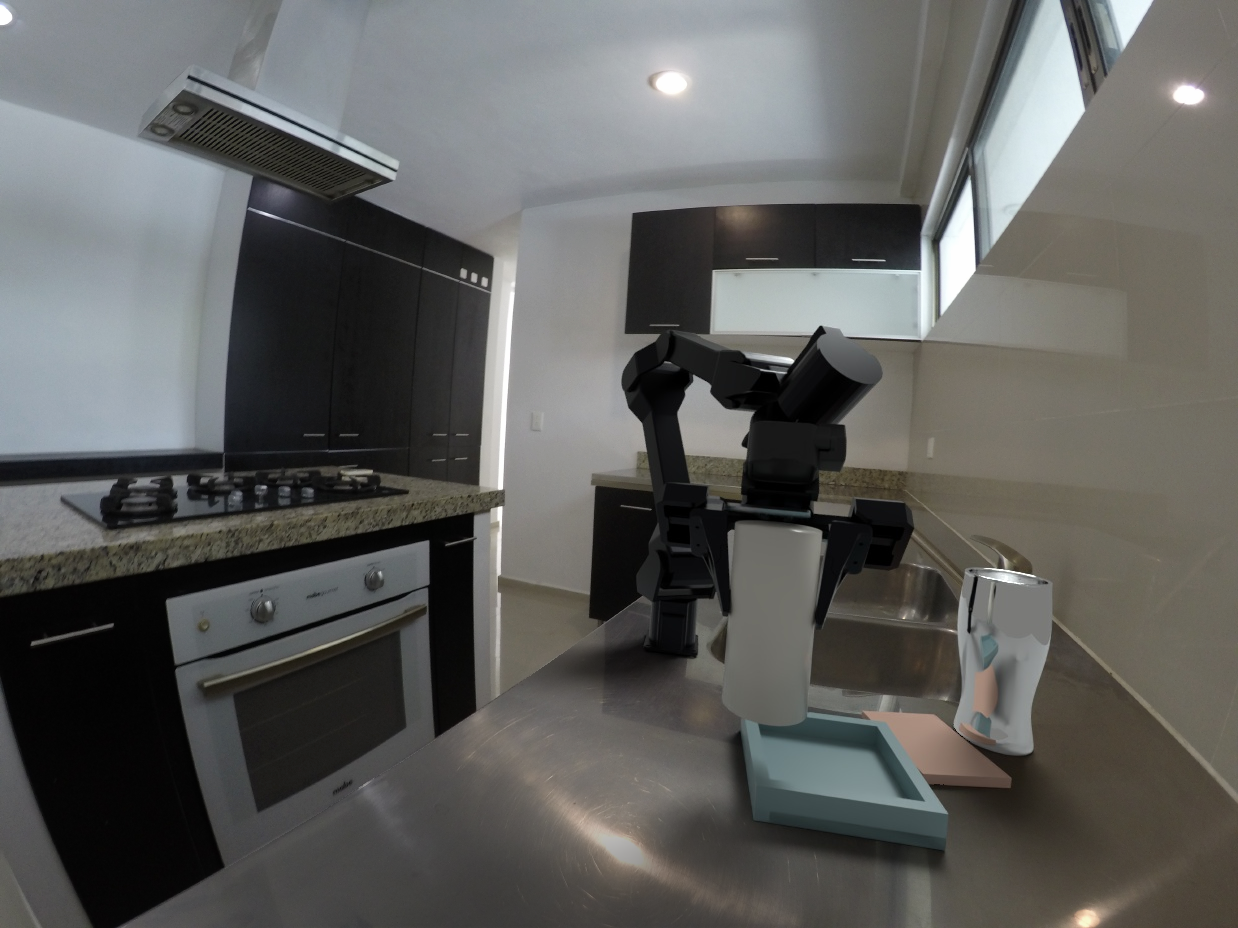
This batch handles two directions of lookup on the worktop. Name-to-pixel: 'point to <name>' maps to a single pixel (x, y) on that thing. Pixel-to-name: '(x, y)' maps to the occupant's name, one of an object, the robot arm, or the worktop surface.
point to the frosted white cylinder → (771, 621)
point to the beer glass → (1001, 656)
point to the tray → (841, 781)
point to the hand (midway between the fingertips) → (771, 620)
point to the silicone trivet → (941, 751)
